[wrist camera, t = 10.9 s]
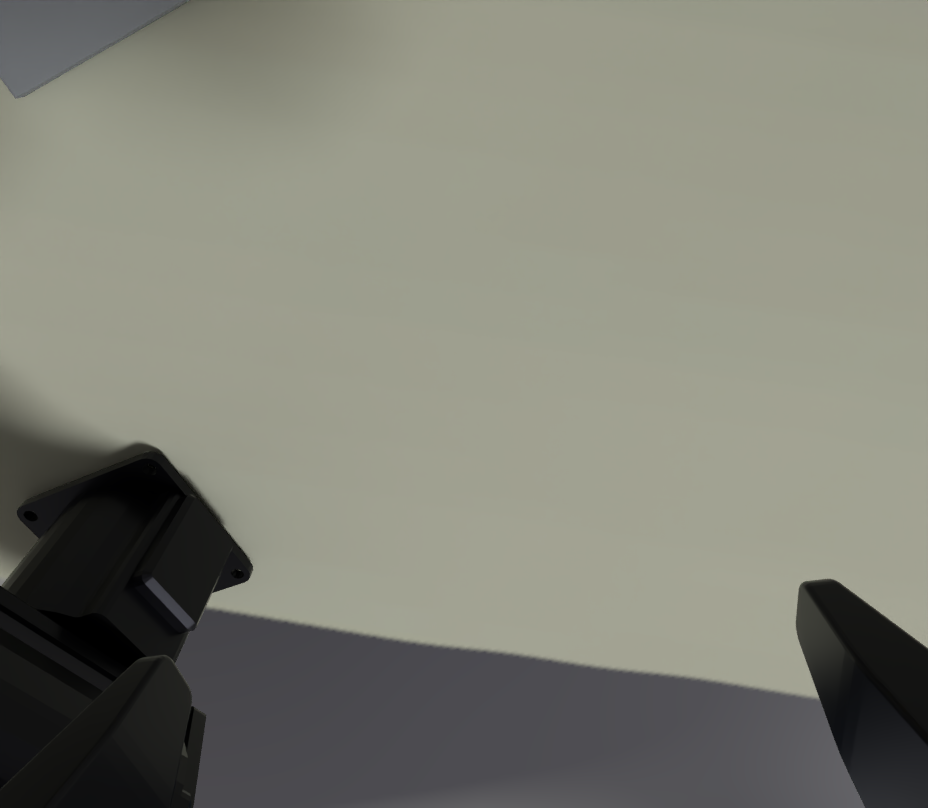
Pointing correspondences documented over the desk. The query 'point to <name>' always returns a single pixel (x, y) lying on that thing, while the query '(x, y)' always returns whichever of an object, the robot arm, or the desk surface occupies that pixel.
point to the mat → (65, 35)
